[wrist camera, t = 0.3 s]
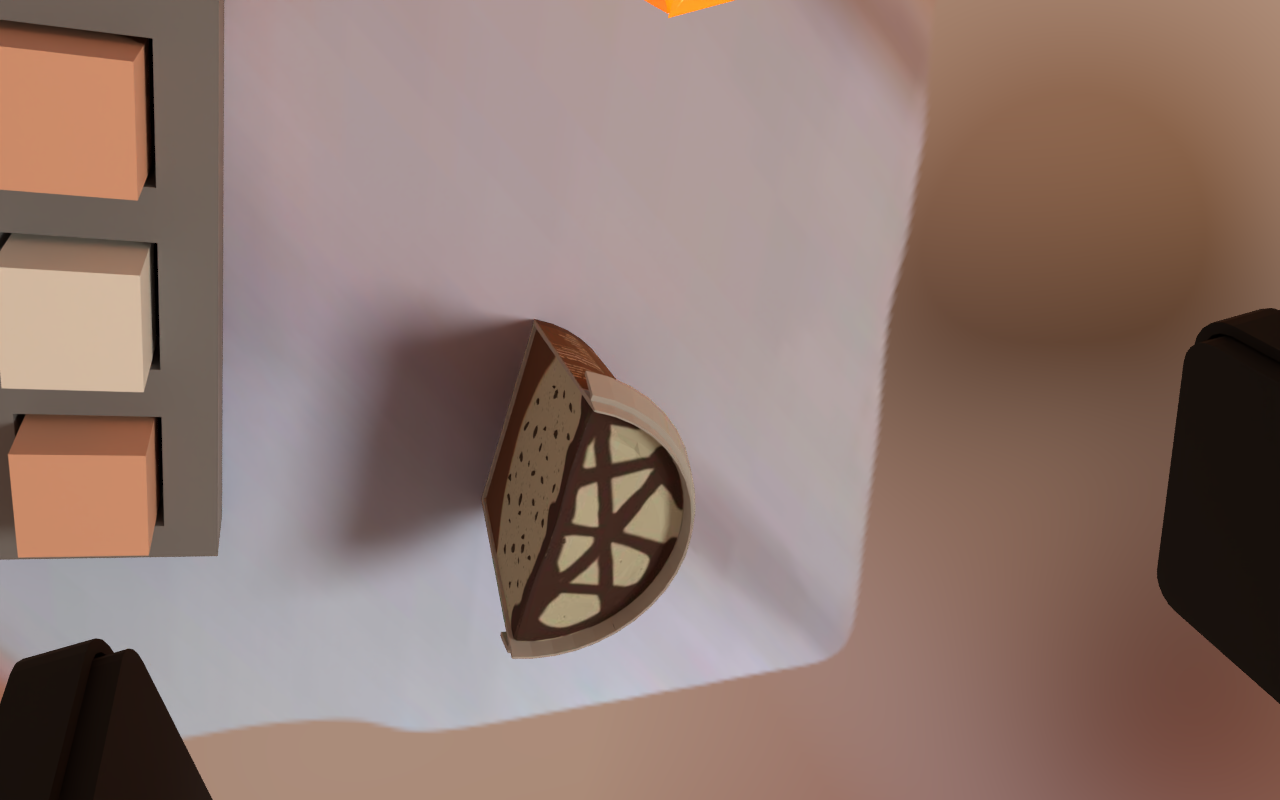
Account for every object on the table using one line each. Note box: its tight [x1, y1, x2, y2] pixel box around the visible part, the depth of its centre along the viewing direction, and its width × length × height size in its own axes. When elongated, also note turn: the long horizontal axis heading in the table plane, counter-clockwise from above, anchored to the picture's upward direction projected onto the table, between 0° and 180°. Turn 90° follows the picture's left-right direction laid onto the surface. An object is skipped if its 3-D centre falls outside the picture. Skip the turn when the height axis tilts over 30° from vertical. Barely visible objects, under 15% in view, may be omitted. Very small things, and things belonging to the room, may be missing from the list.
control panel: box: [0, 0, 224, 560], centre depth 39 cm, size 22×9×3 cm, turn 170°
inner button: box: [0, 20, 152, 201], centre depth 35 cm, size 4×4×4 cm
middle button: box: [0, 233, 156, 392], centre depth 38 cm, size 4×4×4 cm
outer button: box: [8, 414, 160, 558], centre depth 41 cm, size 4×4×4 cm
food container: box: [481, 319, 695, 659], centre depth 45 cm, size 12×6×10 cm, turn 162°
